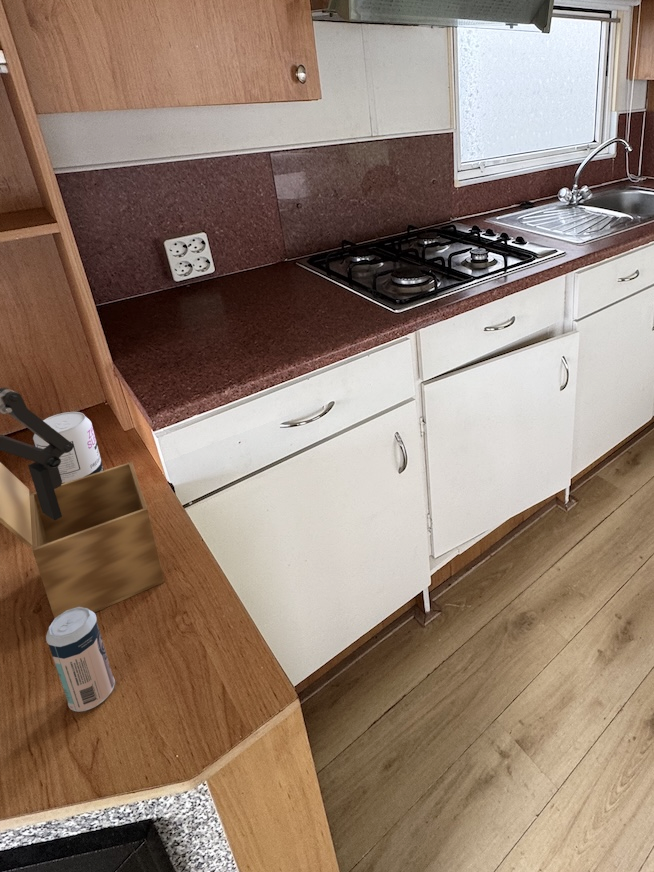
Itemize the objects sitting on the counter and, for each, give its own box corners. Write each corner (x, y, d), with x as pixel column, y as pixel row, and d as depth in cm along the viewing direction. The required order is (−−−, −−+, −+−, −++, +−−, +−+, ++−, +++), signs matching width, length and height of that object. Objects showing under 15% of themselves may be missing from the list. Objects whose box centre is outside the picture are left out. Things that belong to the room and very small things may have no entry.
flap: (32, 545, 74) (29, 547, 74) (29, 489, 84) (26, 491, 84) (-3, 514, 71) (-6, 517, 71) (-2, 460, 81) (-5, 462, 81)
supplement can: (43, 498, 104) (21, 426, 98) (94, 474, 110) (75, 405, 105) (65, 515, 100) (44, 441, 94) (116, 489, 106) (98, 418, 101)
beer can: (125, 679, 72) (104, 607, 68) (93, 718, 68) (69, 643, 64) (91, 673, 73) (69, 600, 69) (58, 710, 69) (32, 635, 65)
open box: (57, 628, 79) (32, 550, 74) (51, 566, 89) (29, 494, 85) (164, 582, 87) (147, 508, 82) (147, 529, 97) (131, 461, 92)
